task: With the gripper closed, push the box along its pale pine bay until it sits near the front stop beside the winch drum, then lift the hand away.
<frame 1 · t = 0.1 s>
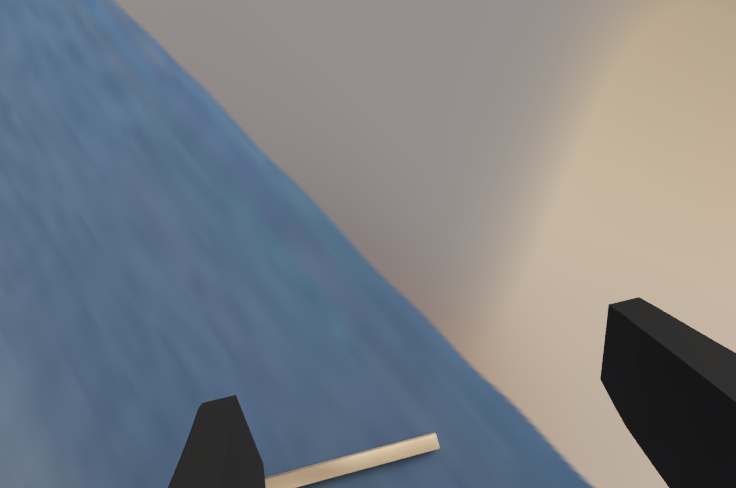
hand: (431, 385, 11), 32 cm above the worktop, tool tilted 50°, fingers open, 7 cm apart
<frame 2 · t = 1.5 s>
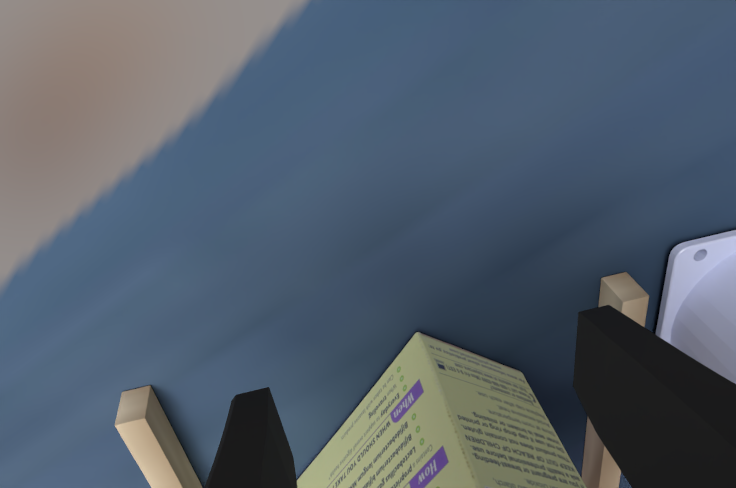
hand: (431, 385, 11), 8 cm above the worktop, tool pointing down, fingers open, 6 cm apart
box: (399, 429, 25), on the worktop
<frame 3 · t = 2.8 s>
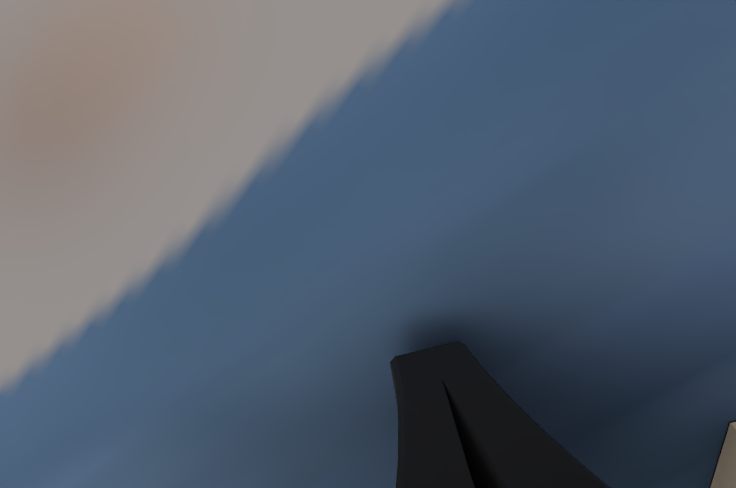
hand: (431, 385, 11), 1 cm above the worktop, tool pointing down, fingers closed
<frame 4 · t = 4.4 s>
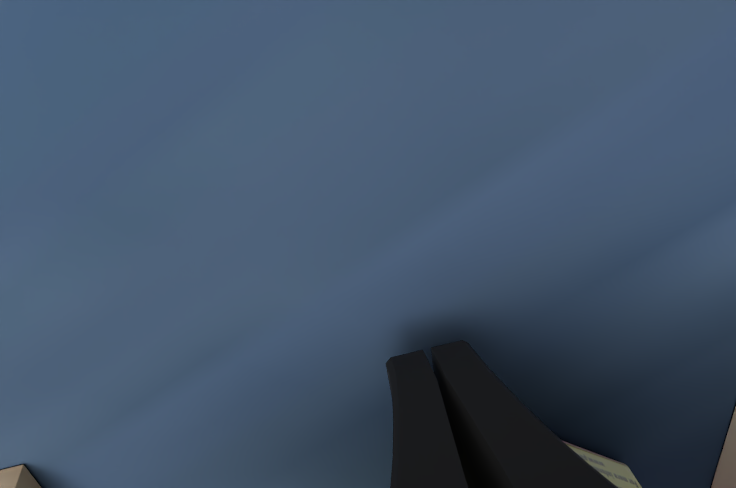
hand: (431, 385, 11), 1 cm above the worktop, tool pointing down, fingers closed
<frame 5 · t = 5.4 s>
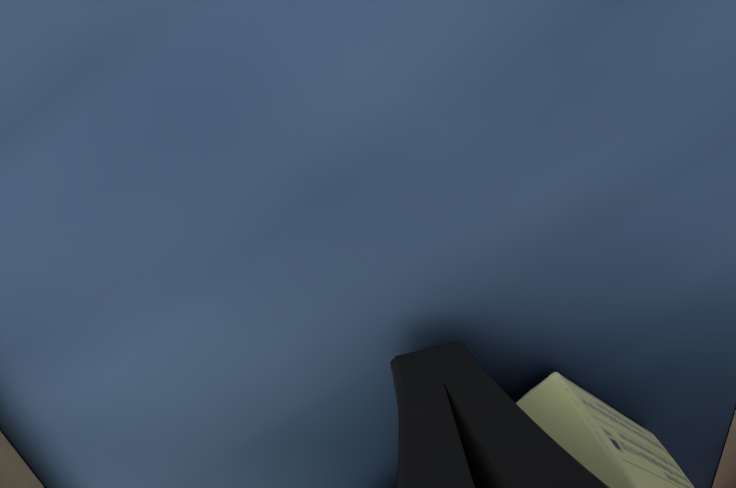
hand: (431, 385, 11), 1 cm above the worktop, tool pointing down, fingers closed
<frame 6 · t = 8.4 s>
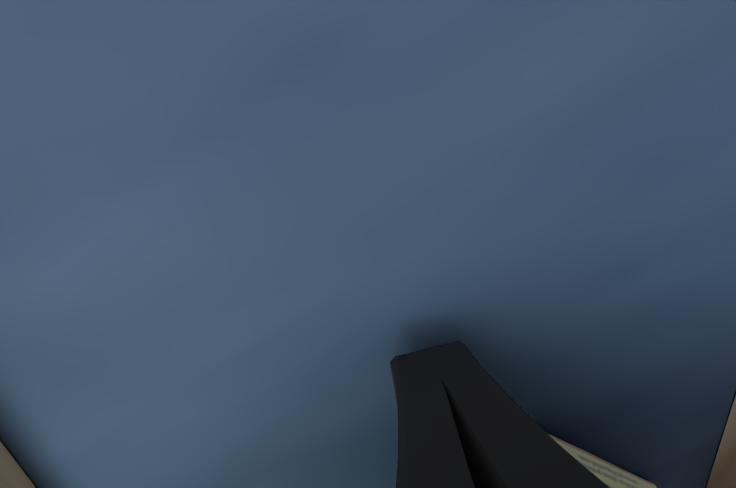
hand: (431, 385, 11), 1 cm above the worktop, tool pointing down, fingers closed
bay: (427, 472, 15), on the worktop
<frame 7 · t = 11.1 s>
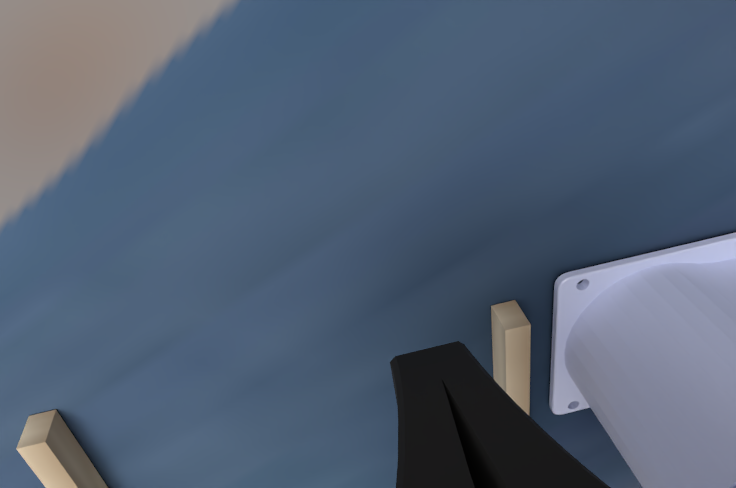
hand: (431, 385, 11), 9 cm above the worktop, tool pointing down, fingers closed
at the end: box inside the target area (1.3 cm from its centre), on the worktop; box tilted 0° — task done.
